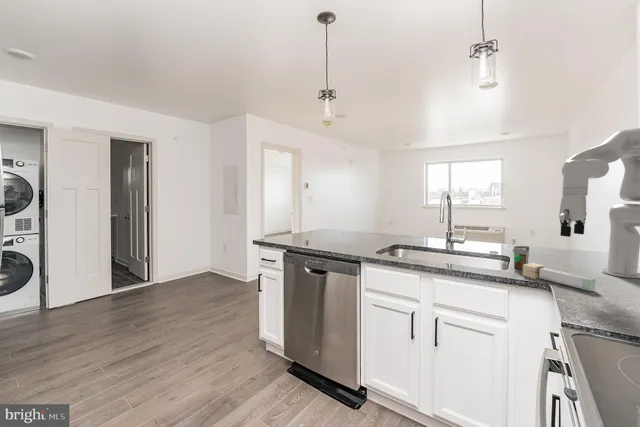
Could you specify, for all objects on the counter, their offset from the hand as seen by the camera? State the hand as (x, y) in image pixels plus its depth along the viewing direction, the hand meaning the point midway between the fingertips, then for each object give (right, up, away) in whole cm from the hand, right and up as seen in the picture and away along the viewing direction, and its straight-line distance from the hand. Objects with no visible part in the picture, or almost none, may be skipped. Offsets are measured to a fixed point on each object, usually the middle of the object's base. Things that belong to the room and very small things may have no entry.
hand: (572, 235), depth 121 cm
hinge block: (-8, -19, +11) cm, 23 cm away
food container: (-4, -18, +26) cm, 32 cm away
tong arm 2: (-2, -19, +1) cm, 19 cm away
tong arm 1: (-3, -19, 0) cm, 20 cm away
